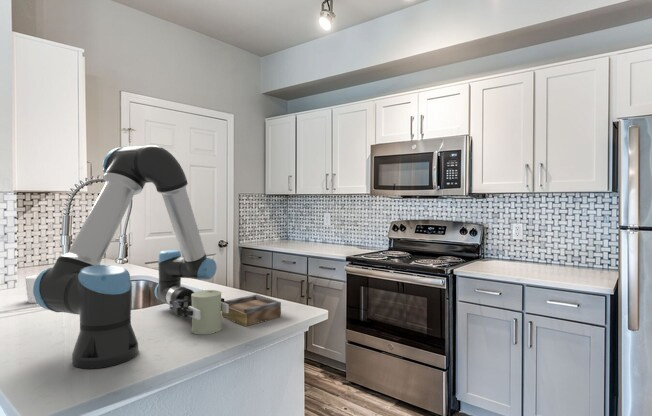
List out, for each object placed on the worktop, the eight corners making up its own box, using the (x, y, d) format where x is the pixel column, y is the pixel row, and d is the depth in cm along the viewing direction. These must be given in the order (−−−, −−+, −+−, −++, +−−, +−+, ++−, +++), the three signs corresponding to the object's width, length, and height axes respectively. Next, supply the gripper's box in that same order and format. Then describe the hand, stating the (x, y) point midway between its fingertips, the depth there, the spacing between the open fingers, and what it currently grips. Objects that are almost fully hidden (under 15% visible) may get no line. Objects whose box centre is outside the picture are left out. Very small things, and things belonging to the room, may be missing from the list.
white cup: (28, 299, 158) (28, 275, 158) (52, 297, 162) (51, 273, 161) (23, 304, 151) (23, 279, 151) (48, 302, 155) (47, 277, 154)
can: (225, 325, 128) (225, 288, 127) (215, 335, 119) (215, 296, 118) (198, 324, 129) (198, 288, 128) (186, 334, 120) (185, 295, 119)
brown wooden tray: (245, 326, 127) (245, 310, 127) (221, 316, 137) (221, 301, 137) (280, 316, 137) (280, 302, 137) (256, 308, 148) (256, 294, 148)
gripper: (209, 303, 144) (243, 316, 128) (149, 315, 129) (179, 332, 113) (209, 282, 144) (243, 293, 128) (149, 292, 129) (179, 306, 113)
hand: (213, 311), depth 120 cm, fingers closed on can, 9 cm apart
